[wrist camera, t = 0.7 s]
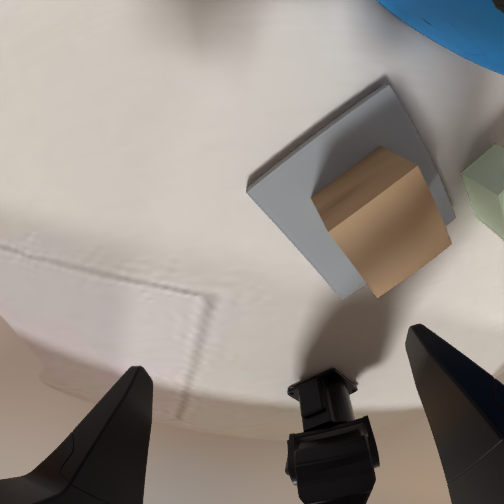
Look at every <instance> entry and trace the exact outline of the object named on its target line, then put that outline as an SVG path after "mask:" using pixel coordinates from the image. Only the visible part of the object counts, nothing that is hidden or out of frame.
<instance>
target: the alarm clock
mask: <svg viewBox="0 0 504 504" xmlns="http://www.w3.org/2000/svg"><path fill="white" fill-rule="evenodd" d="M377 1H378V2H379V3H380V4H381V5H382V6H384V7H385V8H386V9H387V10H389V11H390V12H391V13H392V14H394V15H395V16H397V17H398V18H399V19H401V20H402V21H403V22H405V23H406V24H408V25H409V26H411V27H412V28H414V29H415V30H417V31H418V32H420V33H422V34H423V35H425V36H426V37H428V38H430V39H431V40H433V41H435V42H436V43H438V44H440V45H442V46H443V47H445V48H447V49H449V50H451V51H452V52H454V53H456V54H458V55H460V56H462V57H464V58H466V59H468V60H470V61H472V62H474V63H476V64H478V65H480V66H483V67H485V68H487V69H490V70H492V71H494V72H497V73H500V74H502V75H504V0H377Z"/></svg>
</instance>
